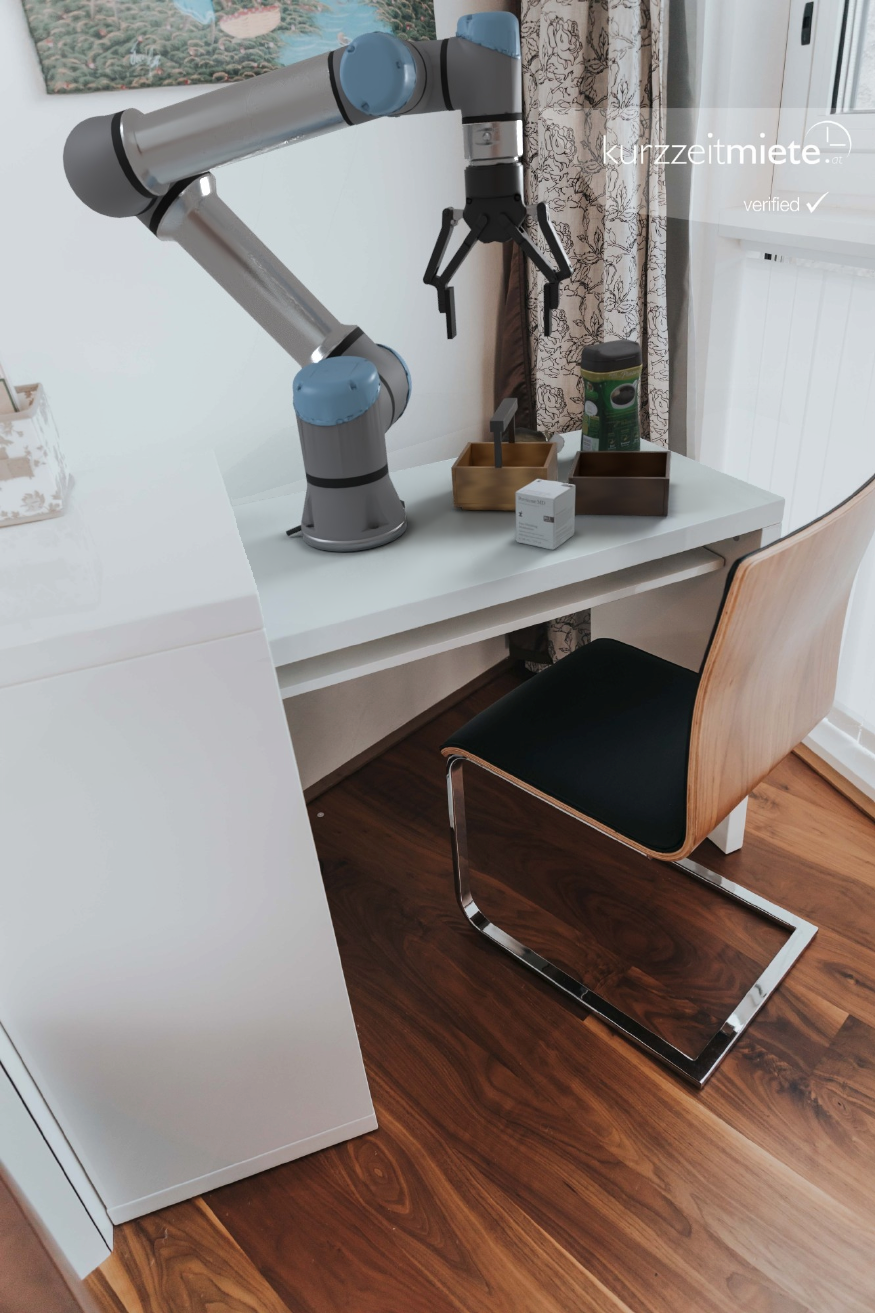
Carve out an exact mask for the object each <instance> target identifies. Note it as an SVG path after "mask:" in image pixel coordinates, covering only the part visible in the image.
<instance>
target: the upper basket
mask: <svg viewBox="0 0 875 1313" xmlns="http://www.w3.org/2000/svg"><path fill="white" fill-rule="evenodd" d="M518 407H519V406H518V397H504V398H503V400H502V401H501V403H500V404H499V406H498V407H497V409H496V411H495V412H494V413H493V415H492V417H491V418H490V420H489V432H490V433H493V441H482V442H481V441H468V442H467V444H465V446H464V448H463V449H462V450H461V452H460V454H459V455H458V457H457V458H456V460H455V462H454V463H453V464H452V466H451V467H450V469H451V470H450V471H451V483H452V498H453V499H452V500H453V507H454V508H461V510H464V511H467V510H470V511H516V492H517V491H518V490H520V489H521V488H523V487H525V486H527V485H528V484H530V483H531V482H533V481H535V480H536V479H542V480H547V481H557V482H558V480H559V478H558V477H559V476H558V473H559V472H558V471H559V470H558V464H559V463H558V453H557V442H554V443H553V442H515V429H516V419H515V417H516V416H515V414H516V412H517V411H518ZM506 429H507V432H508V442H502V433H505V431H506Z"/></svg>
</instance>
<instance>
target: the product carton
mask: <svg viewBox="0 0 875 1313" xmlns="http://www.w3.org/2000/svg"><path fill="white" fill-rule="evenodd" d="M575 515H576V514H575V485H572V484H568V483H566V482H561V481H558V480H557V481H547V480H542V479H536V480H535V481H533V482H531V483H530V484H528V485H527V486H525V487H523V488H521V489H520V490H518V491H517V492H516V510H515V541H516V543H519V544H524V545H529V546H534V547H539V548H543V549H547V550H556V549H557V548H558V547H560V546H561V545H562V544H564V543H565V542H566V541H567V540H569V539H570V538H572V537H573V536H574V535H575V519H576V516H575Z"/></svg>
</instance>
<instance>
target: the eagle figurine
mask: <svg viewBox="0 0 875 1313" xmlns="http://www.w3.org/2000/svg"><path fill="white" fill-rule="evenodd" d="M501 440H502V442H508V431H507V432H506V433H505V434H504V435H503V436H502V438H501ZM565 441H566V440H565V438H564V437H563V436H562V435H561V434H557V433H555V434H553V433H551V432H548V429H545V430H544V433H543V432H542V431H541V430H533V429H528V428H525V427H524V426H523V427H520V426H519V427H515V442H553V443H554V442H557V454H560V453H561V451H562V450H563V449H564V447H565Z"/></svg>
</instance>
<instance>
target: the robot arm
mask: <svg viewBox="0 0 875 1313" xmlns="http://www.w3.org/2000/svg"><path fill="white" fill-rule="evenodd" d="M456 22H457V23H456V31H455V36H450V37H447V38H443V39H431V40H418V41H410V40H408V39H407V40H406V39H404V38H400V37H397V36H396V35H394V34H392V33H390V32H383V31H380V30H376V31H371V32H366V33H363V34H361V35H360V34H359V35H358V36H356V37H355V38H354V39H353V40H352V41H351V42H350V43H349V44H347V45H343V46H340V47H339V48H336V49H334V50H328V51H326V52H323V53H320V54H317V55H314V56H311V57H309V58H305V59H302V60H300V61H297V62H296V61H295V62H294V63H291V64H288V65H285V66H282V67H279V68H276V69H273V70H270V71H268V72H264V73H262V74H259V75H255V76H252V77H249V78H247V79H244V80H241V81H238V82H235V83H232V84H229V85H227V86H222V87H220V88H217V89H214V90H211V91H208V92H205V93H202V94H200V95H197V96H194V97H190V98H188V99H185V100H182V101H178V102H176V103H173V104H170V105H167V106H165V107H161V108H159V109H156V110H153V111H150V112H147V113H143V112H142V111H140V110H139V109H137V108H134V107H130V108H126V109H123V110H120V111H117V112H114V113H110V114H106V115H96V116H92V117H91V116H90V117H88V118H85V119H83V120H82V121H80V122H79V123H77V124H76V125H75V126H74V127H73V128H72V130H71V131H70V133H69V134H68V135H67V138H66V139H65V143H64V146H63V152H62V164H63V170H64V174H65V177H66V180H67V182H68V185H69V187H70V188H71V191H73V193H74V194H75V196H76V197H77V198H78V199H79V200H80V201H81V202H82V203H83V204H84V205H85V206H86V207H88V208H89V209H91V210H92V211H94V212H95V213H97V214H99V215H102V216H105V217H109V218H115V219H122V218H131V217H135V218H137V219H138V220H139V221H140V222H141V223H142V224H143V225H144V226H145V227H146V228H147V229H148V230H149V231H150V232H151V233H152V234H153V235H154V236H155V237H156V238H157V240H159V241H160V242H174V243H177V244H178V245H179V246H180V247H181V248H182V249H183V250H184V251H185V252H186V253H187V254H188V255H189V256H190V257H191V258H192V259H193V260H194V261H195V262H196V263H197V264H198V265H199V266H200V267H201V268H202V269H203V270H204V271H205V272H206V273H207V274H208V275H209V276H210V277H211V278H212V279H213V280H214V281H215V282H216V283H217V284H218V286H220V287H221V288H222V289H223V290H224V291H225V292H226V293H227V294H228V295H229V296H230V297H231V298H232V299H233V300H234V301H235V302H236V303H237V304H238V305H239V306H240V307H241V308H242V309H243V310H244V311H245V312H246V313H247V314H248V315H249V316H250V318H251V319H253V321H255V322H256V323H257V324H258V325H259V326H260V327H261V328H262V329H263V330H264V332H266V333H267V334H268V335H269V336H270V337H271V338H272V339H273V340H274V341H275V343H277V344H278V345H279V346H280V348H282V349H283V350H284V351H285V352H286V353H287V354H288V355H289V356H290V357H291V358H292V359H293V360H294V361H295V363H297V364H298V365H299V366H300V368H301V369H300V370H299V371H298V372H297V373H296V374H295V376H294V378H293V380H292V407H293V410H294V412H295V419H296V425H297V431H298V437H299V442H300V449H301V454H302V461H303V467H304V472H305V479H306V490H305V497H304V503H303V509H302V515H301V521H300V523H301V524H300V525H298V526H295V527H293V528H290V529H288V530H286V531H285V533H286V536H287V537H289V536H291V535H295V534H296V533H299V532H301V535H302V540H303V541H304V543H306V544H307V545H308V546H310V547H311V548H315V549H318V550H322V551H329V552H355V551H363V550H368V549H369V550H370V549H373V548H377V547H380V546H383V545H386V544H389V543H391V542H392V541H395V540H396V539H398V538H400V537H401V536H402V535H403V534H404V533H405V532H406V530H407V529H408V521H407V513H406V511H405V510H406V509H405V508H406V505H405V501H404V500H402V499H401V498H400V496H399V494H398V492H397V489H396V488H395V486H394V483H393V481H392V479H391V476H390V471H389V463H388V462H389V461H388V453H387V452H388V451H387V444H386V443H387V442H386V434H387V433H388V431H389V430H390V429H391V428H392V426H393V425H394V424H396V423H397V422H398V420H399V419H400V418H402V416H403V415H404V413H405V411H406V409H407V407H408V404H409V402H410V400H411V395H412V389H413V384H412V382H413V381H412V376H411V371H410V369H409V367H408V364H407V362H406V361H405V360H404V359H403V357H402V356H401V355H400V354H399V353H398V352H397V351H396V350H395V349H393V348H392V347H390V346H388V345H386V344H382V343H377V342H376V343H375V342H374V341H373V339H372V338H371V337H370V336H368V334H367V333H366V332H365V331H364V330H363V329H362V328H361V327H360V326H359V325H358V324H345V323H341V322H340V321H339V320H338V319H337V317H336V316H335V315H334V314H333V313H332V312H331V311H330V310H329V309H328V308H327V307H326V306H325V305H324V304H323V303H322V302H321V301H320V299H318V298H317V297H316V296H315V295H314V293H313V292H311V290H310V289H309V288H308V287H307V286H306V285H305V284H303V283H302V281H301V280H300V278H298V277H297V276H296V275H295V274H294V273H293V272H292V271H291V270H290V269H289V268H288V266H286V265H285V264H284V263H283V262H282V261H281V260H280V259H279V257H278V256H277V255H276V254H275V253H274V252H273V251H272V250H271V249H270V248H269V247H268V246H267V245H266V244H265V243H264V242H263V241H262V240H261V239H260V238H259V237H258V235H257V234H255V232H253V230H252V229H250V227H249V226H248V225H247V224H246V223H245V222H244V221H243V219H241V218H240V217H239V216H238V215H237V214H236V213H235V212H234V211H233V209H231V208H230V207H229V206H228V204H226V203H225V201H223V200H222V198H221V197H219V195H218V193H217V178H216V177H215V175H214V174H213V173H212V172H211V171H213V170H217V169H219V168H220V169H221V168H222V167H226V166H230V165H232V164H235V163H238V162H241V161H245V160H248V159H251V158H254V157H257V156H261V155H264V154H267V153H270V152H273V151H276V150H277V151H278V150H280V149H282V148H283V149H284V148H285V147H290V146H293V145H296V144H299V143H302V142H305V141H308V140H311V139H315V138H318V137H321V136H324V135H327V134H331V133H335V132H337V131H340V130H343V129H347V128H349V127H353V126H357V125H362V124H365V123H367V122H371V121H374V120H377V119H380V118H381V119H382V118H385V117H387V118H400V117H402V116H413V115H423V114H431V113H440V112H454V111H460V114H461V132H462V154H463V160H464V161H465V162H468V165H467V166H465V168H464V169H463V172H464V173H463V174H464V176H463V177H464V194H465V204H464V208H454V207H453V206H448V207H445V208H444V209H443V210H442V212H441V227H440V230H439V233H438V235H437V239H436V241H435V244H434V247H433V249H432V252H431V255H430V257H429V260H428V263H427V266H426V268H425V272H424V274H423V277H422V283H423V284H424V285H428V286H432V287H434V288H435V289H436V292H437V293H436V294H437V310H438V312H439V314H445V324H446V339H447V340H454V338H456V337H457V334H458V332H457V316H456V301H455V286H453V285H451V286H449V283H450V282H451V281H452V279H453V277H454V276H455V275H456V273H457V272H458V270H459V268H460V267H461V266H462V265H463V263H464V261H465V260H466V258H467V256H469V254H470V252H471V251H472V249H473V248H474V247H475V246H476V244H477V243H478V242H480V243H482V244H491V243H494V242H497V243H500V244H503V243H508V242H509V241H511V240H513V241H514V243H515V244H517V246H518V247H520V249H521V250H522V251H523V252H524V253H525V255H526V256H527V257H528V258H529V259H530V261H531V262H532V263H533V264H534V266H535V267H536V268H537V269H538V270H539V272H540V273H541V275H543V276H544V278H545V279H546V280H547V281H548V282H545V283H544V284H543V288H542V289H543V338H545V337H547V338H548V337H551V335H552V333H553V310H558V308H559V307H560V304H561V282H562V281H565V280H567V279H570V278H571V277H572V276H573V273H574V268H573V265H572V263H571V261H570V259H569V257H568V255H567V252H566V250H565V248H564V247H563V246H564V245H563V244H562V241H561V239H560V238H559V236H558V233H557V231H556V229H555V227H554V225H553V223H552V220H551V218H550V217H551V216H550V208H549V203H548V202H547V201H546V200H541V201H539V202H537V203H533V204H526V201H525V197H524V196H525V195H524V194H525V192H524V164H522V162H520V161H519V158H521V157H522V156H523V155H524V148H523V147H524V146H523V144H524V143H523V140H524V139H523V113H522V109H523V108H522V107H523V106H522V99H523V98H522V60H523V59H522V54H521V38H520V24H519V19H518V18H517V16H516V14H514V13H512V12H510V11H504V10H494V11H493V10H492V11H482V12H475V13H469V14H464V15H461V16H460V17H459V18H458V20H457V21H456ZM528 215H529V216H531V219H532V220H533V222H537V223H538V226H539V229H540V232H541V233H542V235H543V237H544V239H545V242H546V244H547V246H548V249H549V251H550V252H551V254H552V256H553V258H554V261H555V262H556V265H557V267H558V269H559V270H557V269H556V268H555V267H554V266H553V264H552V263H551V262H550V260H549V259H548V258H547V256H545V254H544V253H543V251H542V250H541V249H539V247H538V246H537V245H536V244H535V242H534V241H533V240H532V239H531V237H530V235H529V234H528V233H527V232H526V230H525V229H524V228H523V226H522V225H523V223H524V221H525V220H526V218H527V216H528ZM461 219H463V221H464V222H465V224H466V226H468V228H469V229H470V231H469V232H468V233H467V235H466V237H465V238H464V239H463V242H462V243H461V245H460V246H459V248H457V251H456V252H455V254H454V255H453V257H452V258H451V259H450V261H449V262H448V263H447V265H446V267H445V269H444V270H443V272H441V274H440V275H438V272H439V270H440V267H441V264H442V262H443V259H444V256H445V254H446V251H447V248H448V245H449V244H450V241H451V238H452V235H453V233H454V230H455V229H454V228H455V227H457V226H459V223H460V222H461Z"/></svg>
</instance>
